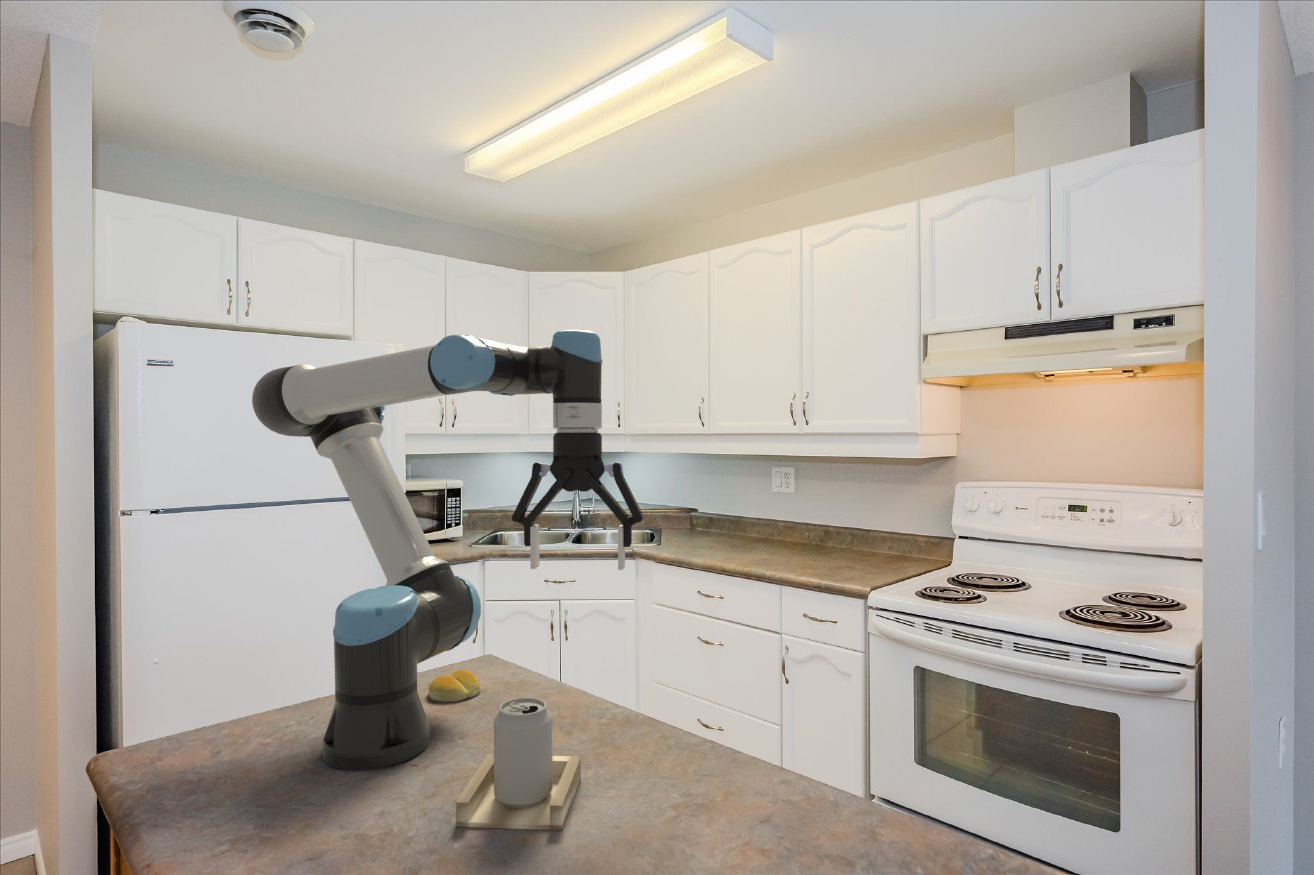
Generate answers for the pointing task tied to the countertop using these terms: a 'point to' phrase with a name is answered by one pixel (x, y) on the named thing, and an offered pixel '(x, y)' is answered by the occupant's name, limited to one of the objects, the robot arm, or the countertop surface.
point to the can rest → (489, 812)
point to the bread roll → (454, 687)
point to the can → (523, 752)
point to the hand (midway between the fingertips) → (578, 567)
